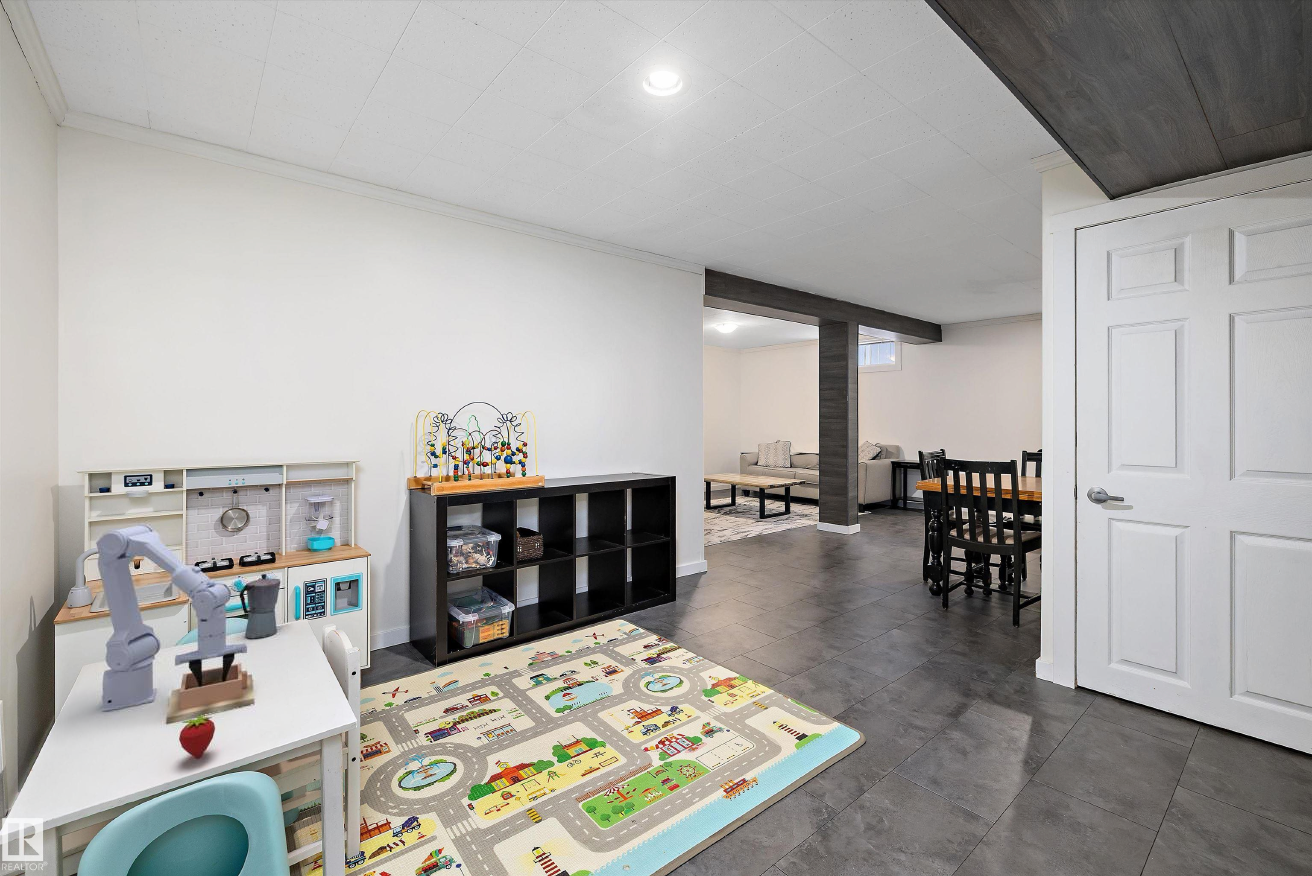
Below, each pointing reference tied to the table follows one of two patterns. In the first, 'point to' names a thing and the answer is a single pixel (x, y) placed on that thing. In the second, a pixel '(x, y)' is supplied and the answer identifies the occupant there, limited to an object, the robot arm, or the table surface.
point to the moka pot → (261, 606)
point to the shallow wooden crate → (212, 688)
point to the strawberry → (197, 735)
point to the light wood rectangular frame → (177, 715)
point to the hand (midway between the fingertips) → (212, 686)
